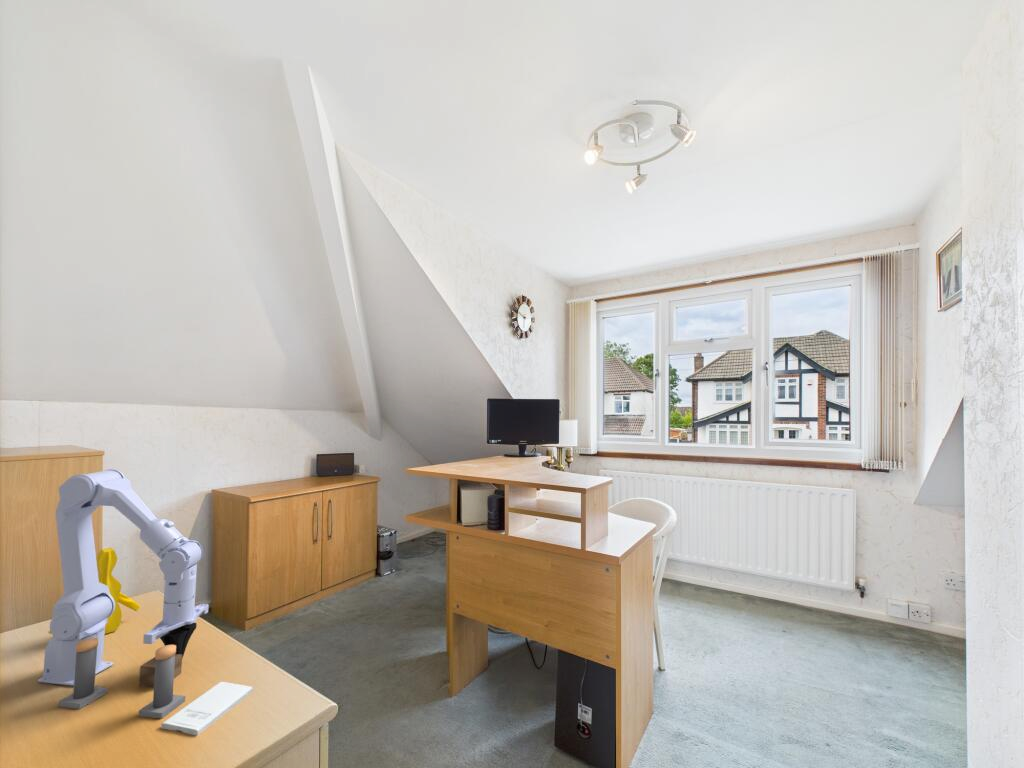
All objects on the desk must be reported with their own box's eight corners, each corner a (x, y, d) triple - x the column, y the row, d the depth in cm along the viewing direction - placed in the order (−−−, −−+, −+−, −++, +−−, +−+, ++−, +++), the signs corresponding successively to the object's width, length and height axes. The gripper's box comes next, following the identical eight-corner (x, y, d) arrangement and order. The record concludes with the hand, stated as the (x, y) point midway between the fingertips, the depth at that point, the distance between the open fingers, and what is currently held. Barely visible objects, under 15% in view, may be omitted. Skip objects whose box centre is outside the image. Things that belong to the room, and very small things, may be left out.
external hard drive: (252, 694, 89) (197, 739, 77) (219, 688, 91) (160, 731, 79) (252, 686, 89) (197, 729, 77) (220, 680, 91) (161, 721, 79)
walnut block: (139, 685, 91) (140, 665, 91) (161, 671, 96) (162, 652, 96) (160, 687, 90) (161, 667, 91) (181, 673, 95) (182, 654, 95)
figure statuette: (136, 616, 121) (141, 537, 122) (147, 624, 117) (152, 541, 118) (44, 645, 106) (52, 553, 107) (53, 655, 102) (60, 560, 103)
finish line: (58, 706, 84) (62, 647, 85) (86, 690, 89) (90, 634, 90) (161, 718, 81) (165, 657, 82) (185, 701, 86) (188, 643, 87)
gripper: (165, 614, 90) (161, 681, 89) (220, 586, 104) (217, 644, 104) (136, 612, 91) (131, 678, 90) (194, 584, 105) (191, 642, 104)
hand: (176, 660), depth 97 cm, fingers closed
